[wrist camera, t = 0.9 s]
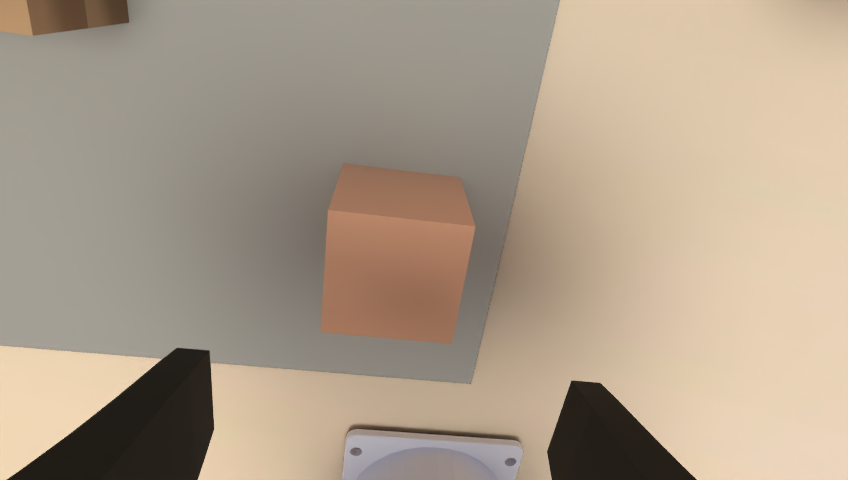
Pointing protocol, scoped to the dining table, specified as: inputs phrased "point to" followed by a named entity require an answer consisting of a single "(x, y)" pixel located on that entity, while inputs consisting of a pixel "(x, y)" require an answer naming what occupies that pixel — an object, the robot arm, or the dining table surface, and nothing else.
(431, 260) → the cube
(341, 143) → the mat
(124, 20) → the tower bottom
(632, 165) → the dining table surface
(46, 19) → the tower top
